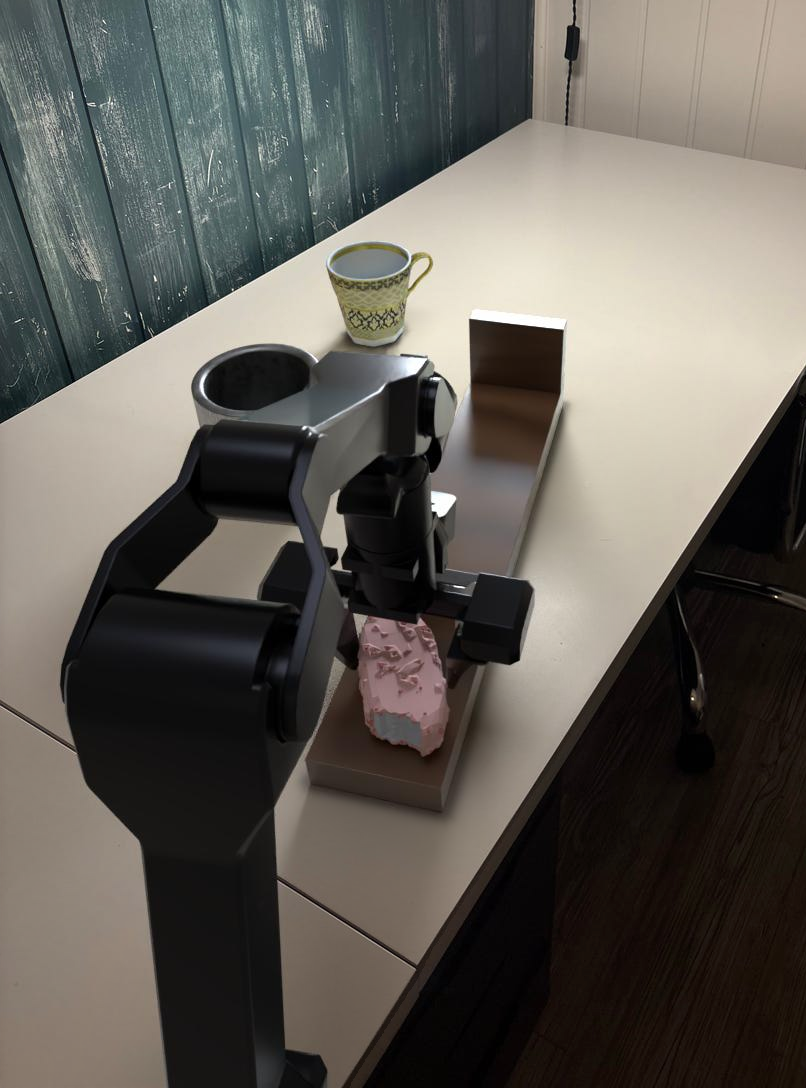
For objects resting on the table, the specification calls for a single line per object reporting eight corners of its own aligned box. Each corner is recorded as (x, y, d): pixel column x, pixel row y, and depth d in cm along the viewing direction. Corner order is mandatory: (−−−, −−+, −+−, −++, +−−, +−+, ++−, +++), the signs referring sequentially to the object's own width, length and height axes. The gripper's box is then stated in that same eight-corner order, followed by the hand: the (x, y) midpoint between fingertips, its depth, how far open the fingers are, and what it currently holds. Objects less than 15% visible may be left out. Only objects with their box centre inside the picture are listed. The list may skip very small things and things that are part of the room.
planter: (185, 478, 96) (160, 388, 89) (272, 416, 104) (256, 328, 97) (276, 525, 90) (257, 433, 83) (360, 455, 98) (350, 366, 91)
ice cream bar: (423, 571, 76) (459, 722, 64) (424, 608, 78) (459, 759, 67) (345, 582, 75) (367, 737, 63) (348, 619, 77) (370, 775, 66)
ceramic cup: (349, 362, 112) (341, 287, 106) (324, 322, 119) (315, 250, 113) (450, 337, 116) (448, 263, 110) (420, 300, 123) (416, 229, 117)
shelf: (442, 812, 67) (435, 719, 60) (310, 783, 69) (288, 689, 62) (562, 405, 105) (567, 319, 98) (475, 394, 107) (473, 309, 100)
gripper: (552, 466, 66) (545, 616, 76) (301, 430, 70) (326, 578, 79) (519, 580, 58) (517, 733, 67) (236, 533, 61) (272, 684, 71)
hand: (404, 674), depth 71 cm, fingers closed on ice cream bar, 7 cm apart
